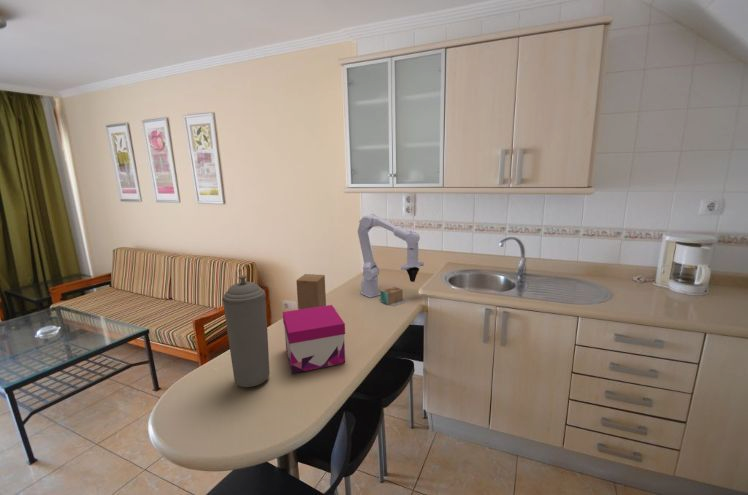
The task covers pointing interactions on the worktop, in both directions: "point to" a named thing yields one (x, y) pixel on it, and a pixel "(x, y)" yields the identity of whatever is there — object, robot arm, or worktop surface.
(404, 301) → the mat
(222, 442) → the worktop surface
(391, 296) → the brown teal box
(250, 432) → the worktop surface
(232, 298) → the canister
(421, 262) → the robot arm
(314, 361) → the decorative box
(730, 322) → the worktop surface
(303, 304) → the wooden block
